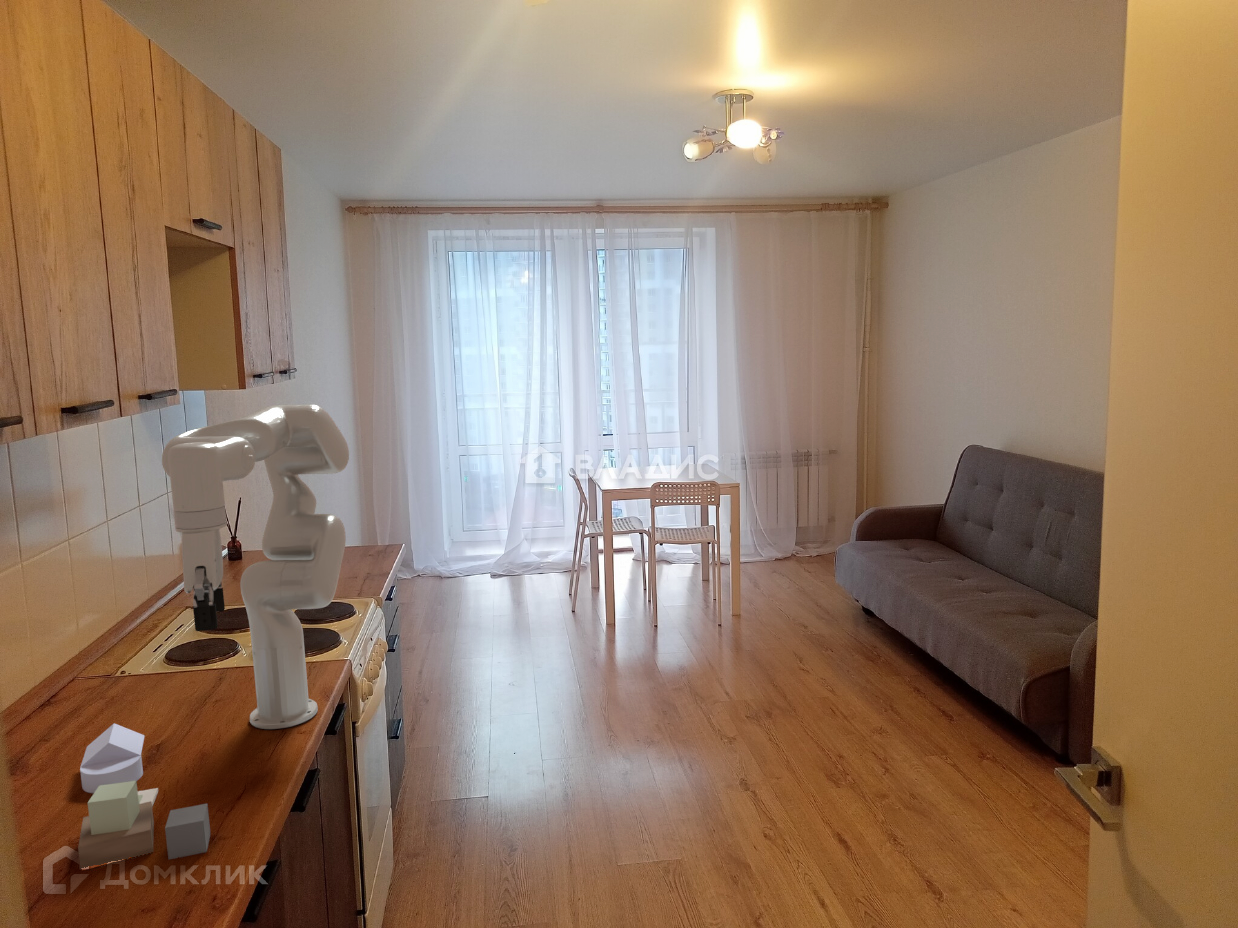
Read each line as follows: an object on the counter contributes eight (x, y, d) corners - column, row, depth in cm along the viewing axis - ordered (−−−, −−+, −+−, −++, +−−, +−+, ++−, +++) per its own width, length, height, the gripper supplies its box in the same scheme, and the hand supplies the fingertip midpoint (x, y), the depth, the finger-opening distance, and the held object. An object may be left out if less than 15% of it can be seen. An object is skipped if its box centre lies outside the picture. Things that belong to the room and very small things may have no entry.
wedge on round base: (89, 763, 153) (78, 798, 141) (84, 728, 152) (73, 759, 140) (146, 752, 157) (140, 785, 145) (142, 717, 156) (136, 747, 144)
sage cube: (103, 816, 129) (99, 785, 128) (139, 811, 130) (136, 780, 129) (91, 834, 124) (87, 802, 123) (129, 829, 125) (126, 797, 124)
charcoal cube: (173, 841, 128) (170, 810, 127) (210, 834, 130) (207, 803, 129) (168, 859, 123) (165, 827, 123) (206, 852, 125) (203, 820, 124)
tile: (110, 799, 140) (110, 794, 140) (158, 791, 143) (157, 786, 143) (100, 821, 134) (99, 816, 134) (150, 812, 136) (149, 807, 136)
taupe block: (86, 841, 129) (83, 817, 129) (154, 824, 133) (151, 800, 133) (81, 873, 121) (78, 847, 121) (153, 854, 125) (150, 829, 125)
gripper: (183, 511, 146) (193, 608, 148) (165, 531, 130) (176, 640, 132) (231, 507, 148) (240, 603, 151) (219, 527, 132) (229, 634, 134)
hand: (210, 620), depth 141 cm, fingers open, 9 cm apart
